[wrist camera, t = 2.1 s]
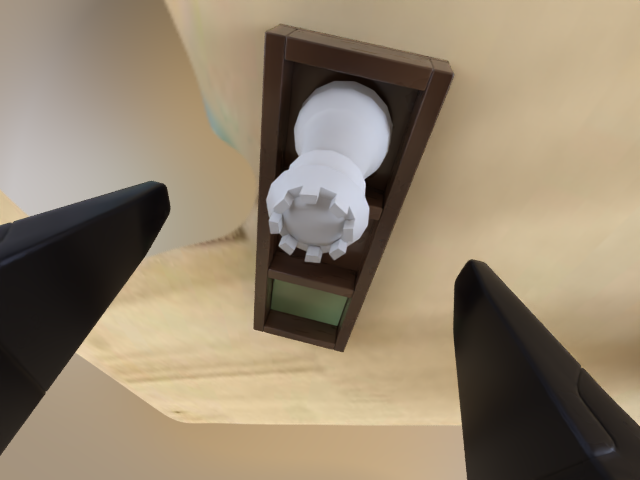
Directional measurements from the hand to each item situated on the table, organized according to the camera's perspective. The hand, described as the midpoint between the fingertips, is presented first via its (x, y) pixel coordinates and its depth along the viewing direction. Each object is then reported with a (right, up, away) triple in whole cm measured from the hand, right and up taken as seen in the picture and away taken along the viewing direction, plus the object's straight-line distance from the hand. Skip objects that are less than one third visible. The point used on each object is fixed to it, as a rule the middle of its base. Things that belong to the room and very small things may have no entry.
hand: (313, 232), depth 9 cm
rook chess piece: (+1, +5, +6) cm, 8 cm away
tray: (0, +1, +10) cm, 10 cm away
